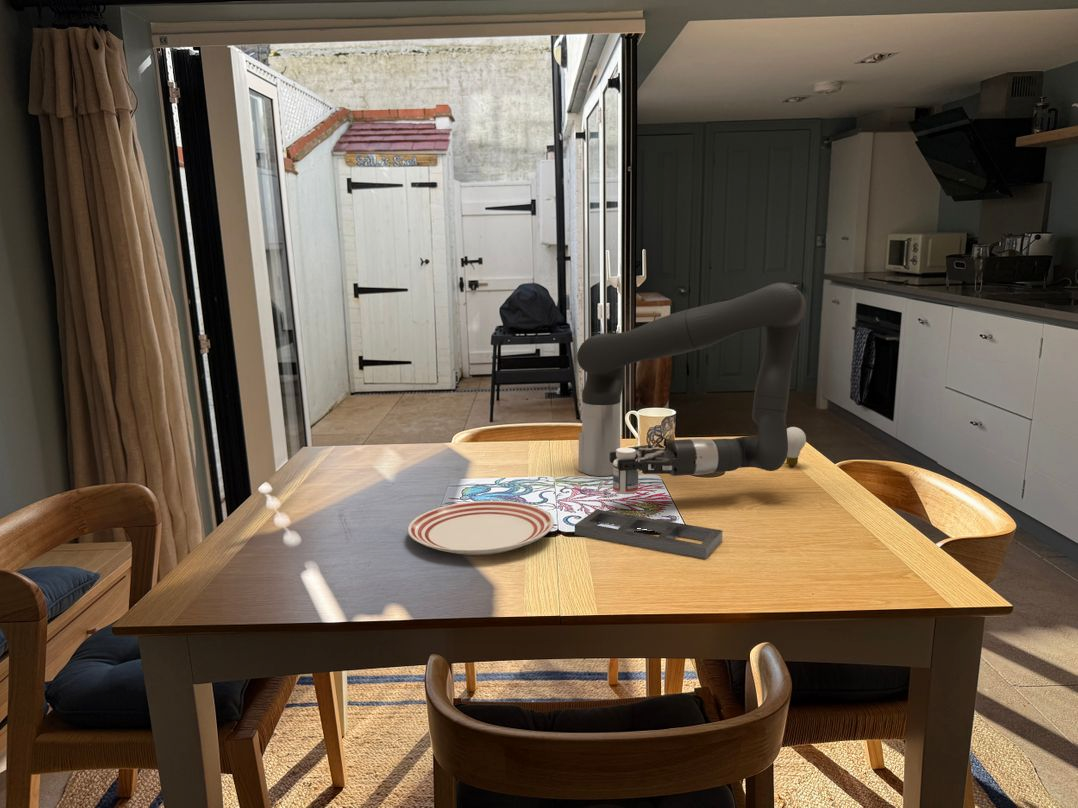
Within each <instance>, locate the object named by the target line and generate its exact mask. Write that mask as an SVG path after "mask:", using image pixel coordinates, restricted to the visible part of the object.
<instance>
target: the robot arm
mask: <svg viewBox="0 0 1078 808" xmlns="http://www.w3.org/2000/svg"><path fill="white" fill-rule="evenodd" d="M806 301H807V300H806V299H805V296H804V295H803V293H802V292H801V291H800V290H799V289H798V288H797V287H795V286H794V285H792V284H790V283H788V282H776V283H772V284H769V285H766V286H764V287H762V288H759V289H756V290H754V291H751V292H749V293H746V294H743V295H741V296H739V297H736V298H732V299H729V300H725V301H719V302H714V303H710V304H705V305H700V306H697V307H692V308H688V309H684V310H681V311H677V312H673V313H671V314H668V315H666V316H662V317H659V318H657V319H654V320H652V321H650V322H647V323H645V324H642V325H641V326H638V327H636V328H634V329H633V328H632V329H631V330H628V331H627V330H626V331H623V332H622V331H621V332H616V333H608V332H607V333H605V332H604V333H599V334H596V335H592V336H590V337H588V338H587V339H586V340H584V341H583V342H582V343H581V345H580V346H579V348H578V350H577V354H576V361H577V363H578V366H579V367H580V368H581V370H583V371H584V372H586V381H585V384H584V387H583V389H582V393H581V432H579V433H578V472H581V473H583V474H586V475H589V476H596V477H608V476H613V462H614V460H615V459H617V457H616V449H618V448H621V422H622V421H621V419H622V418H621V413H622V412H621V407H622V405H621V404H622V402H621V401H622V400H621V399H622V392H623V390H624V384H625V383H624V379H625V378H624V377H625V367H626V366H629V365H631V364H634V363H638V362H642V361H648V360H649V361H650V360H656V359H662V358H667V357H668V358H669V357H672V356H678V355H682V354H683V355H684V354H686V353H690V352H695V351H697V350H701V349H704V348H708V347H711V346H714V345H715V344H717V343H719V342H722V341H723V340H726V339H727V338H729V337H731V336H733V335H736V334H739V333H741V332H746V331H750V330H751V331H752V330H756V329H761V328H765V345H764V353H763V357H762V361H761V364H760V367H759V372H758V375H757V379H756V383H755V387H754V388H755V389H754V395H753V396H754V397H753V404H752V409H751V410H752V411H751V412H752V413H751V418H752V420H753V422H754V423H755V424H757V435H747V436H746V435H745V436H739V437H734V438H715V439H714V438H712V439H710V438H690V439H689V438H687V439H672V440H669V441H668V442H667V443H666V446H665V447H664V448H663V449H662V448H660V447H656V446H652V445H651V444H644V445H638V446H636V445H635V446H629V447H627V448H633V449H635V451H636V455H635V458H634V459H620V460H618V461H617V469H618V470H619V471H627V470H636V471H638V473H639V472H640V473H641V474H644V475H649V474H650V475H651V474H653V475H655V474H656V475H664V474H667V475H671V476H672V477H678V476H679V477H680V476H681V477H683V476H695V475H706V474H710V473H711V474H712V473H723V472H724V473H725V472H733V471H736V470H738V469H742V468H757V469H760V470H764V471H766V472H767V471H768V472H774V471H777V470H780V469H781V468H782V467H783V466H784V464H785V463H786V459H787V454H788V437H787V428H788V427H787V421H786V417H787V413H788V404H789V396H790V386H791V377H792V367H793V360H794V354H795V349H796V346H797V342H798V341H797V340H798V338H799V333H800V330H801V327H802V324H803V320H804V318H805V314H806V312H807V302H806ZM636 460H637V461H636Z"/></svg>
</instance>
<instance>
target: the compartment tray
mask: <svg viewBox="0 0 1078 808" xmlns="http://www.w3.org/2000/svg"><path fill="white" fill-rule="evenodd" d="M599 522H602V523H601V524H605V523H609V524H608V525H611V524H614V525H613V526H616V525H620V526H618V528H614V527H609V526H603V525H599V524H600V523H599ZM598 523H599V524H598ZM637 528H641V529H647V530H652V531H655V532H654V533H656V532H657V533H656V534H659V535H654V534H653V535H652V534H647V533H642V532H637V530H638V529H637ZM636 529H637V530H636ZM635 530H636V531H635ZM634 531H635V532H634ZM723 532H724V531H723V530H722V529H715V528H710V527H704V526H697V525H692V524H686V523H681V522H674V521H673V522H672V521H668V520H662V519H656V518H652V517H651V518H650V517H645V516H639V515H638V516H637V515H634V514H633V515H632V514H626V513H621V512H616V511H608V510H603V509H602V510H601V509H595V510H593V511H592V512H591V513H589V514H588V515H587V516H585V517H583V518H582V519H581V520H579V521H578V522H576V523H575V524H574V536H579V537H583V538H584V537H585V538H590V539H596V540H600V541H607V542H611V543H616V544H617V543H618V544H620V545H621V544H622V545H626V546H627V545H628V546H632V547H636V548H637V547H638V548H643V549H644V548H645V549H648V550H654V551H658V552H659V551H660V552H665V553H669V554H675V555H680V556H681V555H682V556H686V557H691V558H696V559H702V560H707V559H708V558H709V556H710V555H712V554H713V552H714V551H715V550H716V548H717V547H718V546H719V545H720V543H722V542H723ZM677 537H679V538H686V539H692V540H697V541H702V542H701V543H697V542H692V541H686V540H681V539H677Z"/></svg>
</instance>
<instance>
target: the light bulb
mask: <svg viewBox="0 0 1078 808" xmlns="http://www.w3.org/2000/svg"><path fill="white" fill-rule="evenodd" d="M787 437H788V454H787V458H786V460H785V463H786V465H788V467H790V468H794V467H796V466H797V465H798V461H799V456H800V454H801V450H802V449H803V448H804V447H805V445H806V442H807V435H806V433H805V432H804V431H803V430H802V429H801V428H799V427H796V426H790V427H787Z"/></svg>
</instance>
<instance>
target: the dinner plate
mask: <svg viewBox="0 0 1078 808" xmlns="http://www.w3.org/2000/svg"><path fill="white" fill-rule="evenodd" d="M554 523H555V520H554V518H553V516H552V515H551V513H549V512H548V511H546V510H544V508H541V507H538V506H535V505H532V504H530V503H529V504H528V503H523V502H517V501H508V500H478V501H477V500H476V501H467V502H466V501H465V502H459V503H453V504H448V505H444V506H440V507H437V508H434V509H431V510H429V511H426V512H424V513H422V514H420V515H418V516H417V517H415V518H414V519H413V520H411V522H410V523H409V524H408V527H407V534H408V535H409V538H411V539H412V540H413V541H415V542H417V543H419V544H421V545H423V546H425V547H428V548H431V549H433V550H437V551H441V552H446V553H452V554H458V555H466V556H487V555H494V554H500V553H506V552H509V551H513V550H515V549H519V548H522V547H525V546H527V545H530V544H532V543H534V542H536V541H538V540H540V539H542V538H543V537H545V536H546V535H547V534H549V532H550V531H551V530H552V529H553V527H554Z"/></svg>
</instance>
